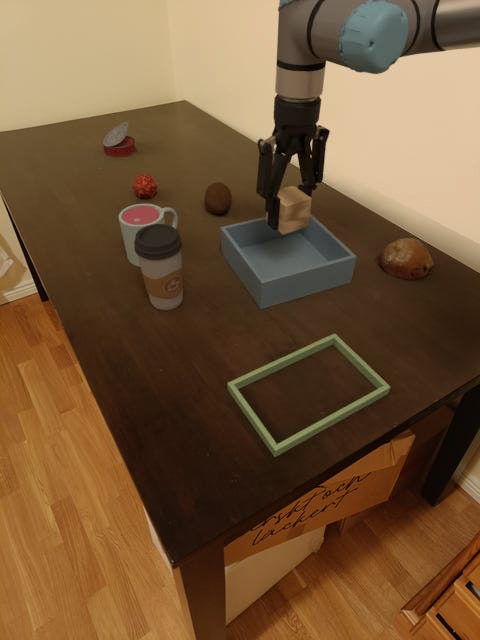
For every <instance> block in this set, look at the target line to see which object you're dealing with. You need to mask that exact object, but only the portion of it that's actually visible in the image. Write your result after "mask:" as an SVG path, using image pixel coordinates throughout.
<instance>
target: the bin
mask: <svg viewBox="0 0 480 640" xmlns="http://www.w3.org/2000/svg"><path fill="white" fill-rule="evenodd" d="M219 231H220V251H221V252H220V253H221V254H222V256H223V257H224V259H225V260H226V261H227V263H228V265H229V266H230V267H231V270H232V271H234V274H235V275H236V276H237V278H238V279H239V280H240V282H241V284H242V285H243V286H244V287H245V289H246V290H247V292H248V293H249V295H250V296H251V297H252V299H253V300H254V302H255V303H256V305H257V306H258V308H259V309H260V310H264V309H266V308H270V307H273V306H277V305H279V304H280V305H281V304H285V303H287V302H291V301H293V300H297V299H300V298H304V297H307V296H310V295H314V294H317V293H320V292H323V291H327V290H330V289H331V290H332V289H334V288H337V287H340V286H345V285H347V284H350V283H352V280H353V275H354V272H355V267H356V263H357V258H358V256H357V255H355V253H354V252H353V251H352V250H351V249H350V248H348V247H347V246H346V245H345V244H344V243H343V242H342V241H341V240H340V239H339V238H338V237H336V235H335V234H333V233H332V232H331V231H330V229H328V228H327V227H326V226H325V225H324V224H323V223H322V222H321V221H319V220H318V219H317V218H316V217H315V216H314V215H313V214H312V213H311V212H310V216H309V223H308V226H307V227H304V228H301V229H298V230H296V231H293V232H290V233H287V234H284V235H283V234H282V233H280V232H279V231H278V230H276V231H275V230H273V229H272V228H271V227H270V226H269V225H268V224H267V221H266V216H264V217H259V218H254V219H251V220H246V221H241V222H238V223H234V224H229V225H225V226H220V230H219Z"/></svg>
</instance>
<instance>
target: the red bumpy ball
mask: <svg viewBox="0 0 480 640" xmlns="http://www.w3.org/2000/svg"><path fill="white" fill-rule="evenodd" d="M158 187H159V185H158V184H157V182H156V181H155V179H154V178H153V176H152V174H137V175H136V177H135V180H134V181H133V184H132V186H131V188H132V190H133V191H134V192H135V194H136V195H137V197H138V198H139V199H153V198H154V196H155V194H156V192H157V189H158Z"/></svg>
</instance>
